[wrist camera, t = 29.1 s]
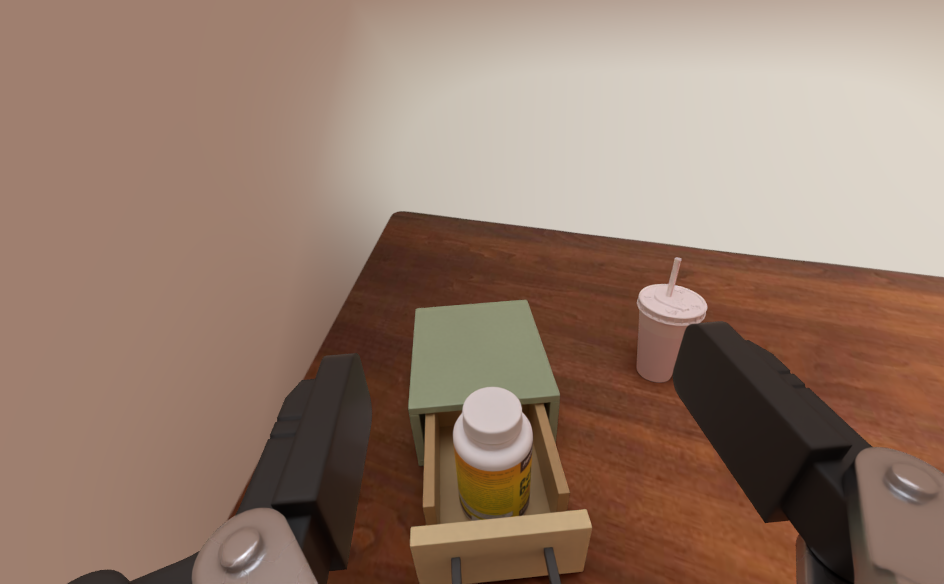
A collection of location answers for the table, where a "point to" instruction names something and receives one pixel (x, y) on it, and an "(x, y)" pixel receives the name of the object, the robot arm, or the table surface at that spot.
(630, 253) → the table surface
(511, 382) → the cabinet
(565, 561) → the drawer
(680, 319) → the smoothie
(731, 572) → the table surface
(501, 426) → the supplement bottle
